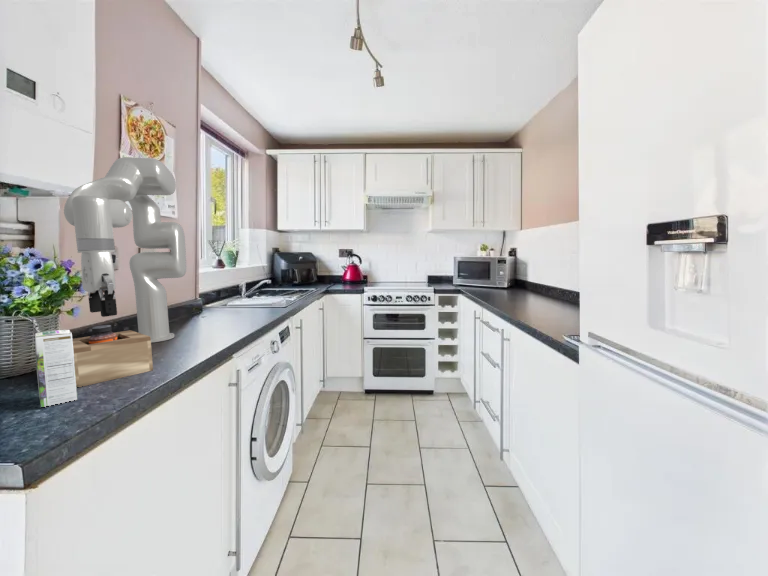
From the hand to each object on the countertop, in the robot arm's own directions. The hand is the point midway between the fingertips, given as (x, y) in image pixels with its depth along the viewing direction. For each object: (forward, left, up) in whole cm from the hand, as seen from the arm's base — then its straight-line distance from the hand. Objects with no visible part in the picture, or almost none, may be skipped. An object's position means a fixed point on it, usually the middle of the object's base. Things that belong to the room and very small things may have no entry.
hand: (103, 313), depth 95 cm
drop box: (+1, 0, -15) cm, 15 cm away
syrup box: (+15, -12, -16) cm, 25 cm away
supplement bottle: (0, 0, -15) cm, 15 cm away
